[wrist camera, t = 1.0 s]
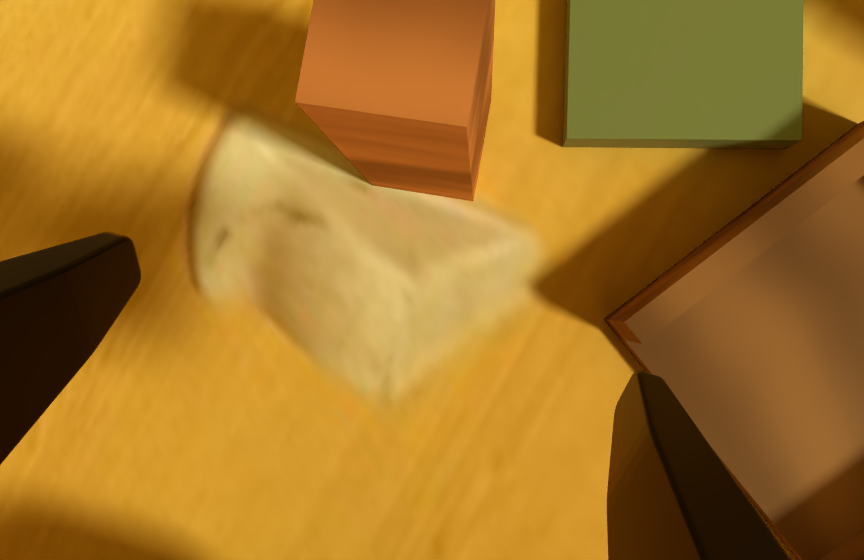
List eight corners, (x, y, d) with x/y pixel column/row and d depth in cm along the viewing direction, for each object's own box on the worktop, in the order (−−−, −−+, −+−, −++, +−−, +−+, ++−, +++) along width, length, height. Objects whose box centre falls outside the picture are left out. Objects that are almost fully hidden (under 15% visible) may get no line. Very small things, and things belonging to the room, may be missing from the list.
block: (473, 201, 24) (466, 127, 14) (372, 185, 24) (294, 101, 14) (490, 99, 24) (497, -48, 14) (390, 85, 24) (326, -67, 14)
